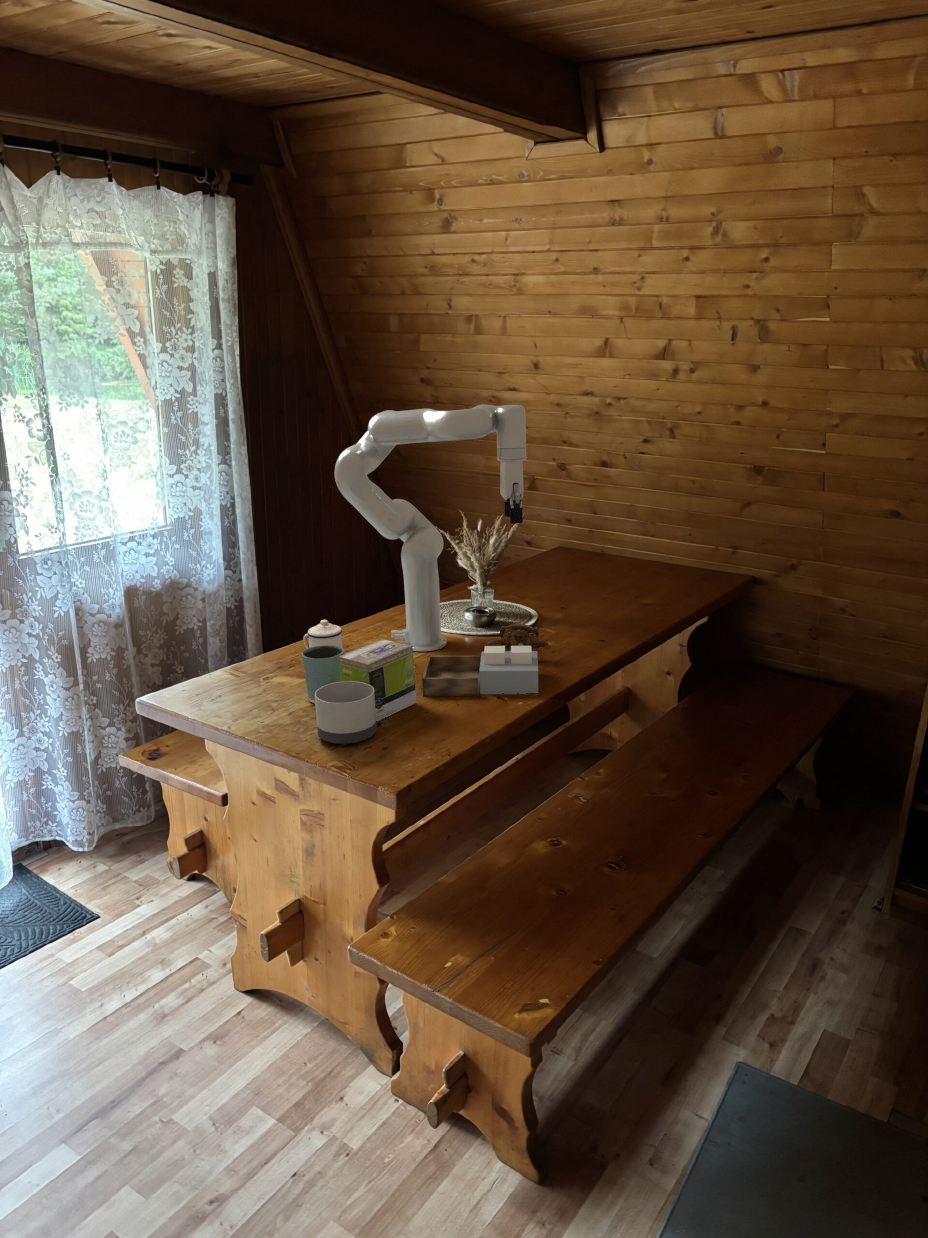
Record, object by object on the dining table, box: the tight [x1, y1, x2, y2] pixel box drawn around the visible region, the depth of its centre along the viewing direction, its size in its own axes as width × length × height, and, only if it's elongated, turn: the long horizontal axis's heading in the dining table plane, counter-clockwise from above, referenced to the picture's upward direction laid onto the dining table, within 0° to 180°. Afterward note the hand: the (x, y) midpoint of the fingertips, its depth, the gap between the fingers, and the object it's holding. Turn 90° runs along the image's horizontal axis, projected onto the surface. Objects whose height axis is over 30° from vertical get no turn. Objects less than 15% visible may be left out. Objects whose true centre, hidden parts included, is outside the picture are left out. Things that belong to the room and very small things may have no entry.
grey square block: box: [479, 650, 539, 695], centre depth 236 cm, size 14×14×6 cm
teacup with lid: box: [302, 619, 343, 649], centre depth 254 cm, size 12×9×12 cm
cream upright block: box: [511, 646, 532, 664], centre depth 234 cm, size 5×5×3 cm
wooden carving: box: [485, 623, 550, 658], centre depth 250 cm, size 16×5×10 cm, turn 89°
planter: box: [314, 681, 378, 745], centre depth 208 cm, size 13×13×10 cm
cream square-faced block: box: [483, 645, 505, 664], centre depth 235 cm, size 5×5×3 cm
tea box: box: [339, 638, 418, 722], centre depth 221 cm, size 15×10×15 cm, turn 141°
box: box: [421, 655, 481, 697], centre depth 237 cm, size 13×16×4 cm
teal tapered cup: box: [301, 645, 345, 701], centre depth 229 cm, size 10×10×12 cm
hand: (513, 519), depth 252 cm, fingers open, 9 cm apart
